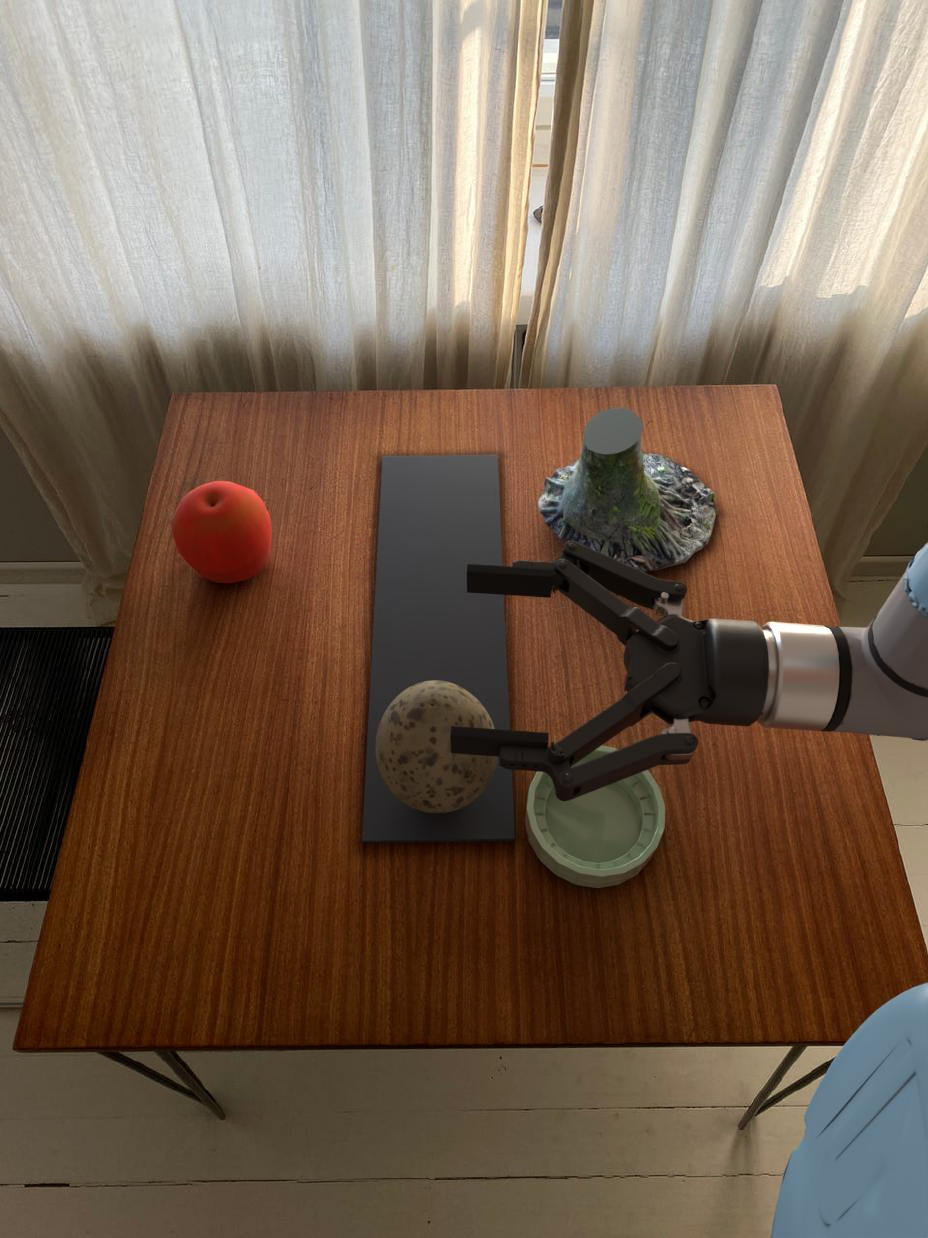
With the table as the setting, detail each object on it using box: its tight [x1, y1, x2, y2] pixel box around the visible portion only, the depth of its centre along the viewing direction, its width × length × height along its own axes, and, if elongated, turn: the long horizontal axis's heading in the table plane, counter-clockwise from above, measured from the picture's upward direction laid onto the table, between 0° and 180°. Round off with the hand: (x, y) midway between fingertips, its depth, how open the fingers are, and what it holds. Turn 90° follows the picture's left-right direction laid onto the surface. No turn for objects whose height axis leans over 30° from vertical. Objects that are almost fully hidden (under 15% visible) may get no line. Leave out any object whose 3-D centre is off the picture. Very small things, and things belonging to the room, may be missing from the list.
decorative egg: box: [376, 680, 497, 813], centre depth 76 cm, size 11×11×15 cm
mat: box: [361, 454, 516, 844], centre depth 93 cm, size 48×14×1 cm, turn 1°
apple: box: [170, 480, 273, 584], centre depth 93 cm, size 10×10×12 cm
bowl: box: [524, 745, 666, 889], centre depth 79 cm, size 12×12×4 cm
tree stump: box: [537, 406, 718, 573], centre depth 95 cm, size 18×20×18 cm
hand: (458, 654), depth 63 cm, fingers open, 13 cm apart
